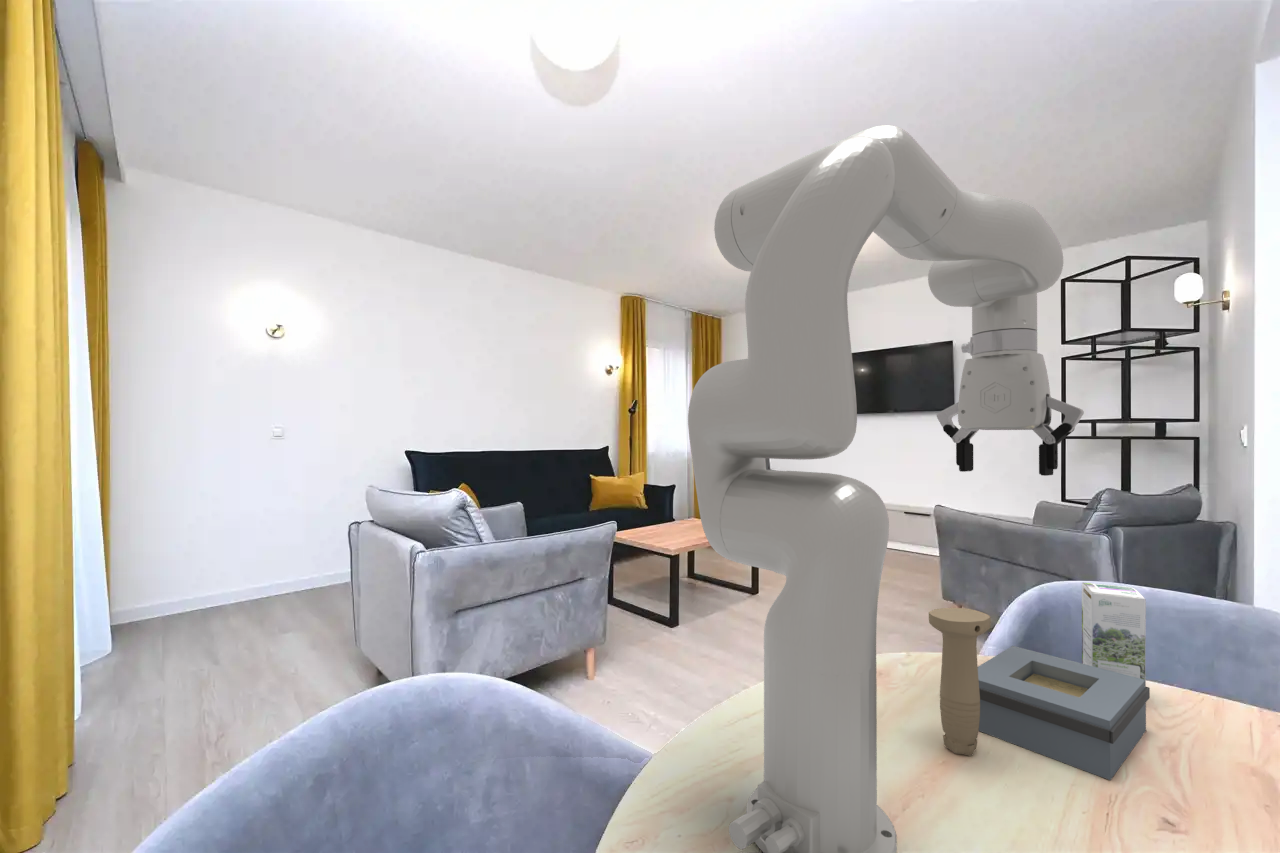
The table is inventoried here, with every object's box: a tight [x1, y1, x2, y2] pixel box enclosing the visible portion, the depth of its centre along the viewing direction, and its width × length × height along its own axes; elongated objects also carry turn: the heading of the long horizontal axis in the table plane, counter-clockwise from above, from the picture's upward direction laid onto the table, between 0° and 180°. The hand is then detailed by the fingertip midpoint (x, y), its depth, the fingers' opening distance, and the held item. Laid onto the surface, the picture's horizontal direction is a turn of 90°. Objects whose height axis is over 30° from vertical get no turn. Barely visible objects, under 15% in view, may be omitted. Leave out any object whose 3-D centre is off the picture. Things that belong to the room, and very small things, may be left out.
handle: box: [928, 607, 992, 757], centre depth 64 cm, size 5×6×15 cm
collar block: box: [978, 645, 1151, 781], centre depth 68 cm, size 17×15×6 cm
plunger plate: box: [1024, 674, 1088, 698], centre depth 68 cm, size 7×6×1 cm
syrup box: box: [1081, 582, 1147, 680], centre depth 77 cm, size 6×6×14 cm
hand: (1004, 473), depth 77 cm, fingers open, 9 cm apart
